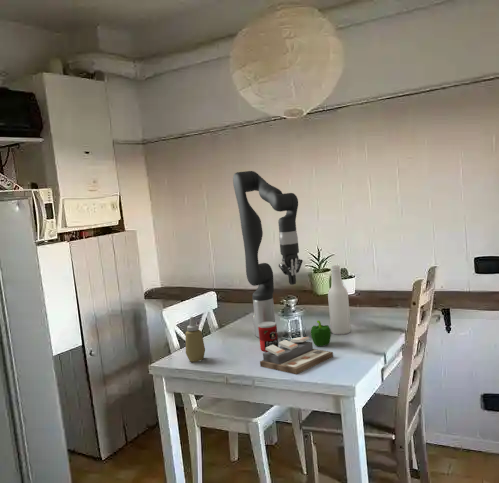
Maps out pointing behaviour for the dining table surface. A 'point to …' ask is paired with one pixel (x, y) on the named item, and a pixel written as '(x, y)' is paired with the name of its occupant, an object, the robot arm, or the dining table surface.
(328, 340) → the bell pepper
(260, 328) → the canned food
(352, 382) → the dining table surface
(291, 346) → the rocker
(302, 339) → the rocker
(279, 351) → the rocker
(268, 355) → the switch box
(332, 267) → the alcohol
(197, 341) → the squeeze bottle
